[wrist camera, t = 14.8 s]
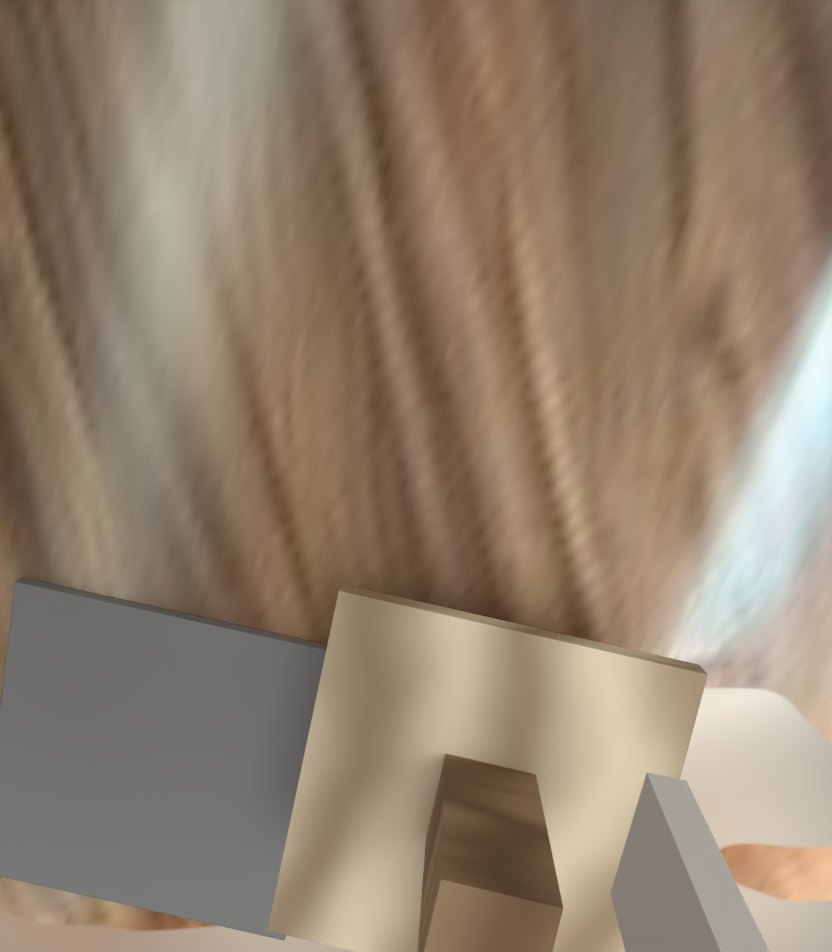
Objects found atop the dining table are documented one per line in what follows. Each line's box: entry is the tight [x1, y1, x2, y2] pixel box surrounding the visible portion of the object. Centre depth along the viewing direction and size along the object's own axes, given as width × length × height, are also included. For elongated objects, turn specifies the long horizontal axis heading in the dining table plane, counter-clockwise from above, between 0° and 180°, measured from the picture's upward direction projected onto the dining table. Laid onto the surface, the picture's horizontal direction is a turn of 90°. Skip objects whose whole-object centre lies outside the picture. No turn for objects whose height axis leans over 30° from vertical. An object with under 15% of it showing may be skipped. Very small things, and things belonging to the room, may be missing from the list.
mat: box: [0, 578, 327, 940], centre depth 49 cm, size 20×20×1 cm
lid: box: [267, 584, 708, 952], centre depth 30 cm, size 16×16×10 cm
